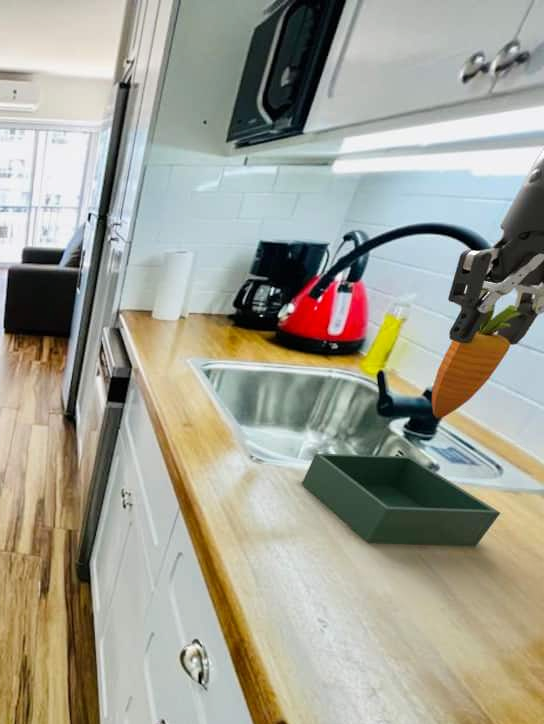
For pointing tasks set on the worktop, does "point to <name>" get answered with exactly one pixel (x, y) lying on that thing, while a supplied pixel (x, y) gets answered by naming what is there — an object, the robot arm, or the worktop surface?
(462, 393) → the carrot
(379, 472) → the dark green tray
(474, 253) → the robot arm
